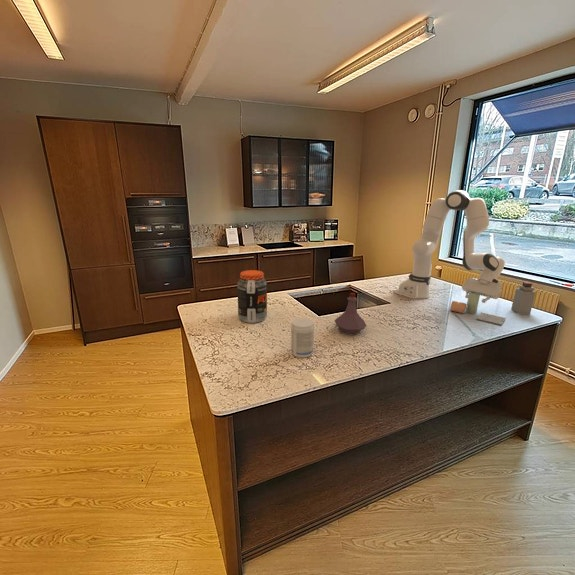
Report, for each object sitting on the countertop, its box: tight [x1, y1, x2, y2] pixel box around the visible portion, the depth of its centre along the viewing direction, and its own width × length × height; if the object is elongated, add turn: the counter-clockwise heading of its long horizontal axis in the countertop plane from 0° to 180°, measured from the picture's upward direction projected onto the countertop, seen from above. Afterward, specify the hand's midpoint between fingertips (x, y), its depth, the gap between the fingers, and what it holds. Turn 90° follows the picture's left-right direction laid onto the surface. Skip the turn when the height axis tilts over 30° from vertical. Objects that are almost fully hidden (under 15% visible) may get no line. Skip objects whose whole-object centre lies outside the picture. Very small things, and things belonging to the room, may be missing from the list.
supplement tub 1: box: [236, 269, 268, 324], centre depth 173 cm, size 16×16×26 cm
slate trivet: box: [475, 312, 506, 327], centre depth 179 cm, size 12×12×1 cm
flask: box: [334, 292, 368, 335], centre depth 160 cm, size 16×16×20 cm
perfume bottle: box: [510, 281, 537, 315], centre depth 188 cm, size 7×7×18 cm
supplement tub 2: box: [290, 317, 315, 358], centre depth 138 cm, size 10×10×15 cm
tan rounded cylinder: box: [449, 300, 467, 314], centre depth 188 cm, size 7×6×6 cm
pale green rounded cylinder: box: [465, 293, 481, 315], centre depth 188 cm, size 6×6×11 cm
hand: (474, 299), depth 188 cm, fingers open, 8 cm apart
